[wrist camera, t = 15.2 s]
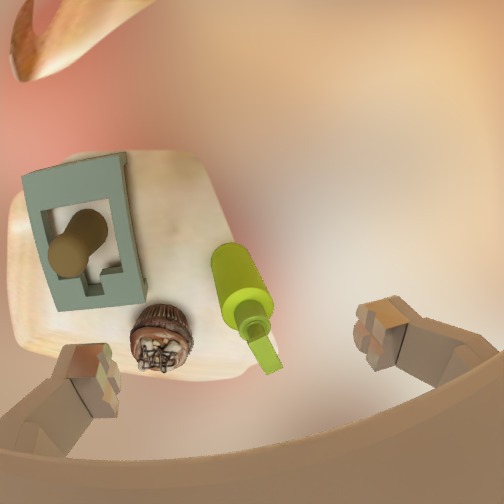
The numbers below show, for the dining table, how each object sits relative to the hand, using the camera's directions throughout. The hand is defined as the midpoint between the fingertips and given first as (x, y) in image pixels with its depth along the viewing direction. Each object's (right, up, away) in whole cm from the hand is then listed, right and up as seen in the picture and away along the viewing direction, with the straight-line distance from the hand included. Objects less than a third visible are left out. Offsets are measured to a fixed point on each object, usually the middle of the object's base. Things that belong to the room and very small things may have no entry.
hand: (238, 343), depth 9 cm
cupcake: (-14, -9, +39) cm, 42 cm away
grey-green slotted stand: (-22, +6, +30) cm, 38 cm away
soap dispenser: (-3, +1, +37) cm, 37 cm away
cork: (-23, +6, +30) cm, 38 cm away
